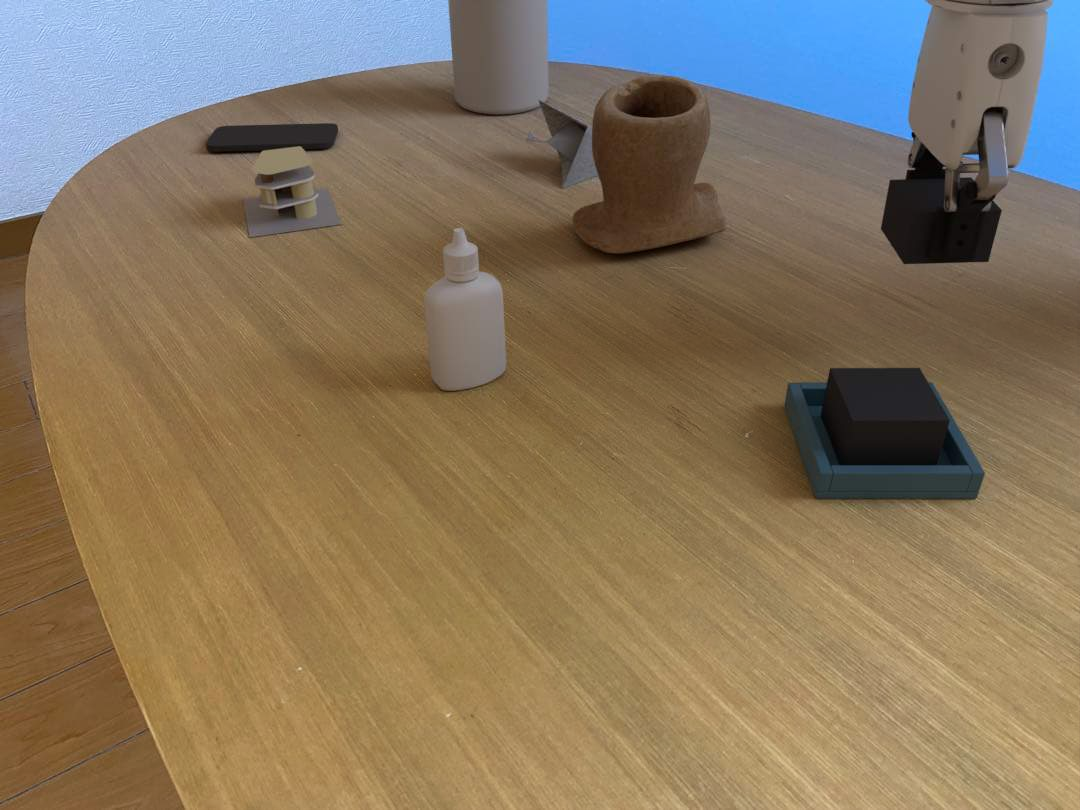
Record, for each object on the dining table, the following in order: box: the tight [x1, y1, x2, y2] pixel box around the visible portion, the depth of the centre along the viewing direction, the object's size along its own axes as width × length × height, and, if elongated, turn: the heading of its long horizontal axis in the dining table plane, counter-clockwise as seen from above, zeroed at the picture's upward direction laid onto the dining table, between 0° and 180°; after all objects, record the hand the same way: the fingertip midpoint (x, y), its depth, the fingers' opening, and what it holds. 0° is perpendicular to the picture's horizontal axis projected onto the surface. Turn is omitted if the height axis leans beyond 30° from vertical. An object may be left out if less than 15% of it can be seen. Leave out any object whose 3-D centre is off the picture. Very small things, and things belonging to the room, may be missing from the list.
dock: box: [783, 381, 986, 500], centre depth 62 cm, size 10×10×2 cm
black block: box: [880, 176, 1003, 265], centre depth 68 cm, size 6×6×4 cm
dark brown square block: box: [821, 367, 950, 465], centre depth 62 cm, size 6×6×4 cm
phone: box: [205, 122, 339, 153], centre depth 114 cm, size 7×1×15 cm
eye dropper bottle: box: [423, 227, 507, 392], centre depth 68 cm, size 4×6×12 cm
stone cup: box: [571, 74, 727, 254], centre depth 86 cm, size 15×12×15 cm
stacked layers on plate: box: [242, 146, 342, 238], centre depth 95 cm, size 10×9×6 cm
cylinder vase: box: [447, 0, 549, 115], centre depth 119 cm, size 12×12×25 cm
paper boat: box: [525, 100, 599, 190], centre depth 104 cm, size 12×6×9 cm
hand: (934, 237), depth 69 cm, fingers closed on black block, 6 cm apart
